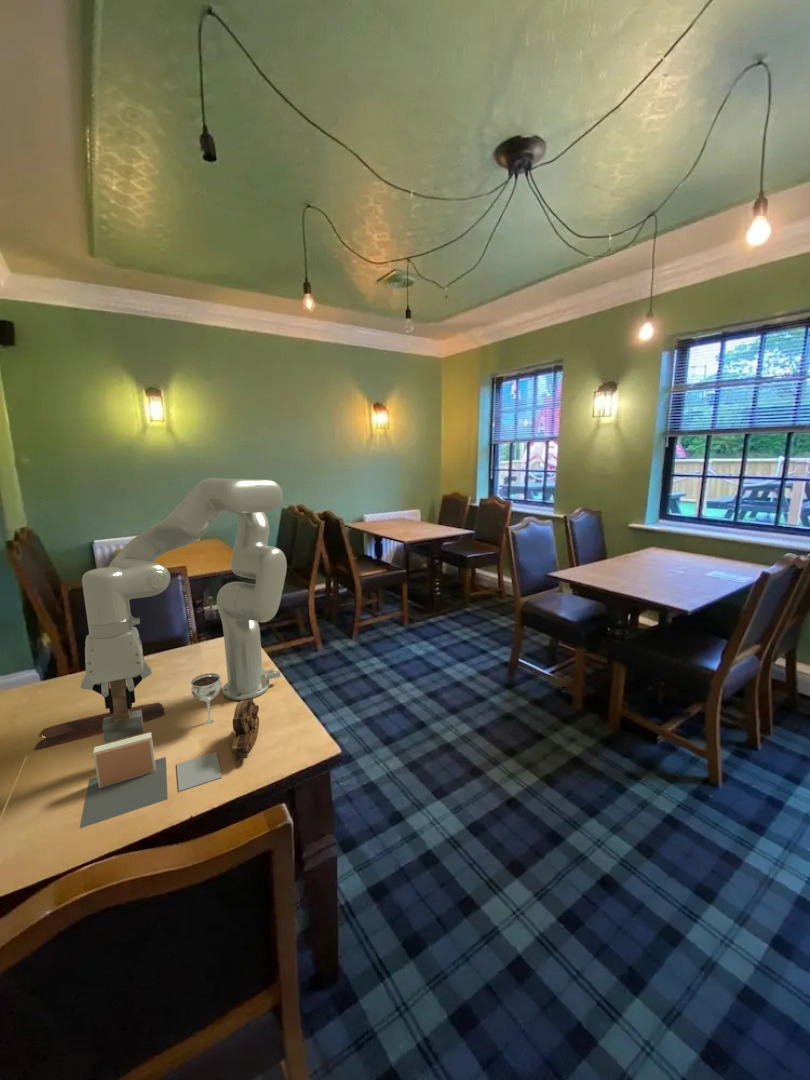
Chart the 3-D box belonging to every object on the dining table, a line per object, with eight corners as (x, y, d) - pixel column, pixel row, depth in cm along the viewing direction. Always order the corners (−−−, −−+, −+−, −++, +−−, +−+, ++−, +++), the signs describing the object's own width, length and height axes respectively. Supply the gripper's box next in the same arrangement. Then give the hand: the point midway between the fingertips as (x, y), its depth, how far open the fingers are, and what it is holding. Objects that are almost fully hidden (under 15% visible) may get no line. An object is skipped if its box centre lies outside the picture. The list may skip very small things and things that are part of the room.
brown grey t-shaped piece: (143, 725, 100) (135, 663, 97) (143, 732, 97) (135, 668, 95) (105, 735, 97) (97, 670, 94) (104, 742, 94) (95, 676, 91)
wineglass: (196, 735, 108) (191, 689, 105) (194, 720, 113) (189, 676, 111) (226, 727, 111) (221, 682, 108) (223, 713, 117) (219, 670, 114)
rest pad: (216, 755, 100) (216, 751, 100) (222, 780, 93) (221, 776, 93) (177, 767, 97) (176, 763, 97) (179, 794, 89) (178, 790, 89)
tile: (155, 765, 96) (151, 732, 95) (155, 771, 94) (151, 738, 93) (100, 781, 92) (94, 747, 90) (98, 789, 90) (93, 753, 88)
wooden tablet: (162, 696, 123) (164, 709, 114) (163, 704, 123) (166, 718, 115) (40, 727, 110) (32, 745, 101) (41, 736, 110) (34, 755, 101)
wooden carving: (254, 766, 97) (251, 725, 95) (232, 769, 96) (228, 727, 94) (262, 722, 113) (260, 686, 111) (243, 724, 112) (240, 688, 110)
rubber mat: (166, 759, 99) (165, 756, 99) (167, 801, 87) (167, 798, 87) (89, 781, 93) (89, 779, 92) (80, 830, 81) (79, 828, 80)
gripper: (155, 615, 100) (163, 691, 103) (65, 628, 92) (77, 710, 96) (155, 626, 93) (164, 706, 97) (59, 641, 86) (72, 728, 89)
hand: (121, 707), depth 96 cm, fingers closed on brown grey t-shaped piece, 2 cm apart
